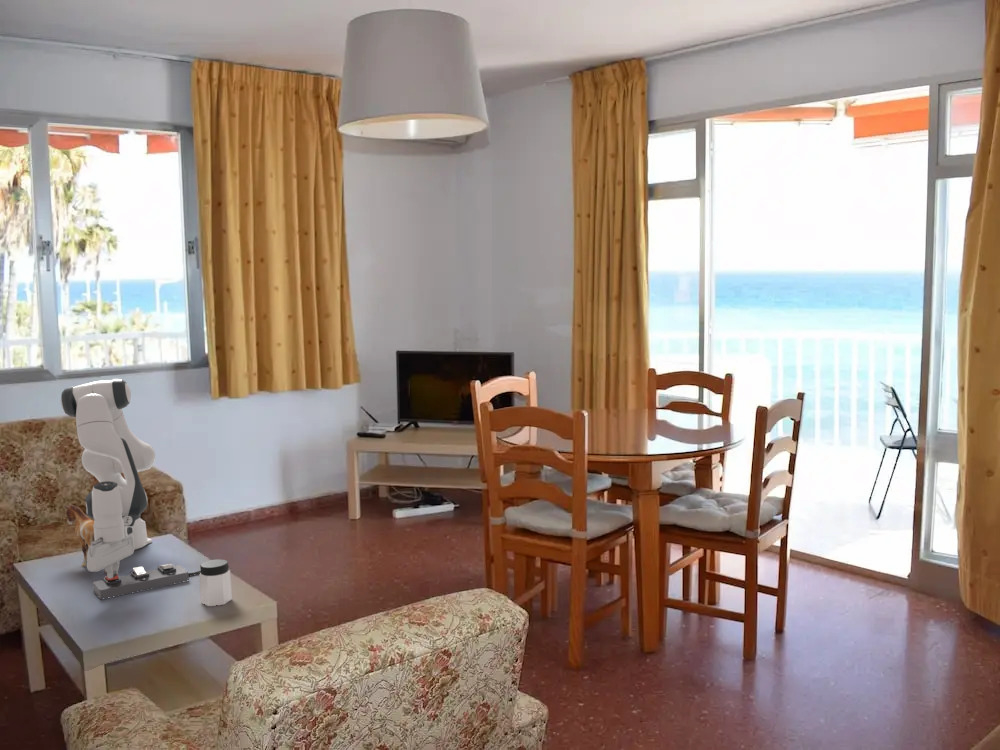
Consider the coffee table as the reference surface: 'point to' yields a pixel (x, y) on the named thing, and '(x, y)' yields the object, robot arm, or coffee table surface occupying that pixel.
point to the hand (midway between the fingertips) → (112, 576)
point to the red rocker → (111, 578)
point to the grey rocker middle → (139, 571)
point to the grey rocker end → (166, 566)
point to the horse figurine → (81, 528)
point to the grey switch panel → (141, 581)
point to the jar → (215, 582)
